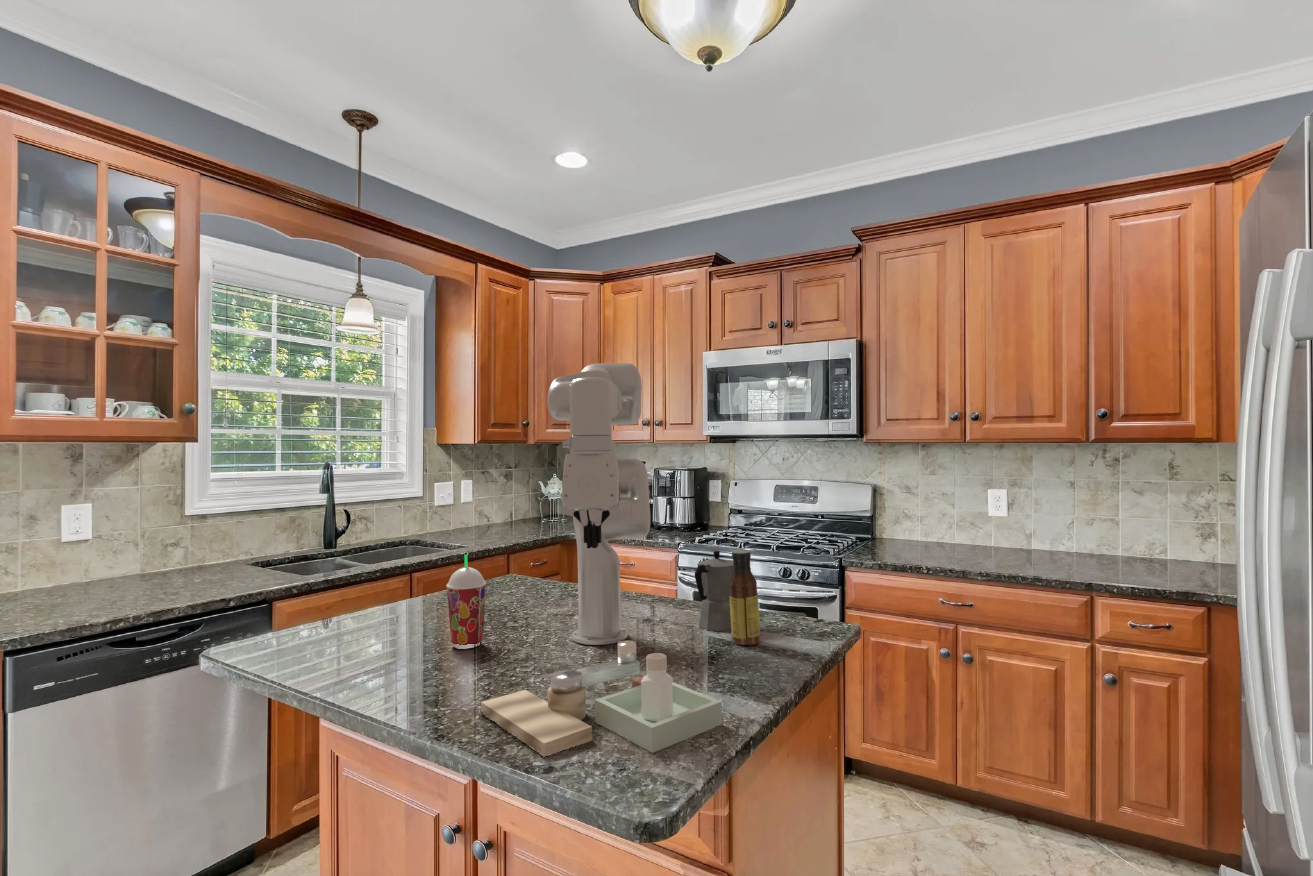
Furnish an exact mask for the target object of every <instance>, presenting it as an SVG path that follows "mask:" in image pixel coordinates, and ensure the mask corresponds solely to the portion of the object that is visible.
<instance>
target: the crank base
mask: <svg viewBox="0 0 1313 876" xmlns="http://www.w3.org/2000/svg"><path fill="white" fill-rule="evenodd" d="M643 677H644V676H640V677H637V678H633V679H632V680H631V688H633V687H636V686H639V685H641V680H642V679H643ZM586 700H587V699H586V687H583V688H582V689H581V690H579V691H577V692H573V693H567V694H561V693H555V692H553V691H552V690H551V686H549V687H548V689H547V700H544V699H543V698H541V697H539V696H537V695H536V694H534V693H532V692H530V691H528V690H527V689H522V690H519V691H515V692H512V693H508V694H505V695H501V696H498V697H494V698H490V699H487V700H483V701H480V711H481V712H483V713H484V714H485V715H487V716H488V717H490V719H492V720H494V721H495V722H497V724H499V725H500V726H502V727H503V728H504V729H506V730H507V731H509V732H510V733H512V734H513V735H515V736H517V738H519V739H521V740H522V741H523V742H525V743H526V744H528V745H530V746H531V747H533V748H534V749H535V750H536V751H538V752H539V753H541V754H542V755H543V756H546V755H549V754H553V753H556V752H558V751H561V750H564V749H567V750H570V749H571V748H570V747H573V748H575V746H576V745H578V746H580V744H581V745H584V744H587V743H590V742H592V741H593V726H592V725H589V724H588V723H587V722H584V721H582V720H584V718H586V716H587V712H586V711H587V707H586V706H587V704H586ZM481 712H480V713H481ZM576 747H577V746H576ZM569 748H570V749H569ZM556 754H557V753H556Z"/></svg>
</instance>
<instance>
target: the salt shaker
mask: <svg viewBox="0 0 1313 876" xmlns="http://www.w3.org/2000/svg"><path fill="white" fill-rule="evenodd" d="M667 659H668V658H667V655H666V654H665V653H662V652H659V653H658V652H655V653H649V654H647V655H646V657H645V669H646V674H645V676H642V677H643V679H642V680H641V709H642V718H643V719H644V720H650V721H655V722H659V721H661V720H664V719H667V718H669V717H670V716H671V715H672V713H673V692H672V682H673V677H672V675H669V674H668V673H667V668H668V662H667Z"/></svg>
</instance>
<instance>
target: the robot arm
mask: <svg viewBox="0 0 1313 876" xmlns="http://www.w3.org/2000/svg"><path fill="white" fill-rule="evenodd" d="M642 390H643V387H642V378H641V374H640V371H639V369H638V368H637V367H636V366H635V365H634V364H632V363H628V362H619V363H617V362H616V363H615V362H614V363H608V362H607V363H605V362H603V363H601V362H599V363H591V364H588V365H586V366H585V367H583V369H582V370H581V371H579V372H576V373H572V374H571V373H570V374H567V375H566V374H565V375H562V376H559V377H556V378H554V379H553V381H551V384H550V385H549V388H548V392H547V396H546V397H547V400H546V403H547V409H548V412H549V414H550V416H551V417H552V418H553V419H554V420H557V421H569V434H570V435H569V436H568V439H566V440H565V439H563V440H562V442H561V443H562V444H561V445H562V448H567V449H568V450H569V452H570V453H566V454H565V457H564V463H563V473H562V487H561V489H562V491H561V502H562V506H563V507H562V514H563V515H566V516H570V517H572V520H573V521H572V522H573V526H574V527H573V528H574V535H575V539H576V548H577V549H576V550H577V552H576V554H577V555H576V556H577V589H578V590H577V591H578V594H577V596H578V597H577V598H578V615H577V616H573V619H572V620H573V622H574V623H576V624H577V629H575V630H574V631H573V632H572V633H571V639H572V641H574V642H575V643H578V644H582V645H587V646H588V645H589V646H604V645H605V646H606V645H612V644H616V643H617V644H618V642H620V641H626V639H627V638H628V637H629V636H628V634H629V633H628V632H629V631H628V630H627V628H625V627H622V625H621V624H622V618H621V613H622V611H621V609H622V608H621V564H620V557H619V555H618V554H617V552H616V551H615V549H614V548H613V547H612V545H610V544H609V541H614V540H616V541H617V540H638V539H643V538H646V536H648V534H649V532H650V529H651V508H650V507H651V506H650V504H651V503H650V487H649V475H648V471H647V468H646V467H647V466H646V465H645V464H644V462H643V461H642V460H640V459H637V458H617V445H616V443H615V442H614V440H613V439H612V438H613V437H612V436H613V435H612V433H613V432H612V431H613V430H612V426H620V425H621V426H622V425H623V426H625V425H626V426H629V425H634V424H636V423H637V422H639V420H640V419H641V415H642V394H643V393H642V392H643V391H642Z"/></svg>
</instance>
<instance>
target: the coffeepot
mask: <svg viewBox="0 0 1313 876" xmlns="http://www.w3.org/2000/svg"><path fill="white" fill-rule="evenodd" d="M720 553H721V551H719V550H714V551H713V557H714V558H710V559H706V560H700V561H699V562H698V563H697V567H696V569H695V572H694V580H695V583H696V587H697V591H698V595H699V599H700V601H702V602H701V609H700V616H699V620H698V621H699V622H698V626H699V628H701V629H702V628H703V629H702V630H704V629H707V630H706V631H708V630H712V631H711V632H727V630H729V631H731V617H730V599H729V594H730V590H729V580H730V578H731V576H732V574H733V559H732V560H731V559H723V558H720V556H721V555H720Z"/></svg>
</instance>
